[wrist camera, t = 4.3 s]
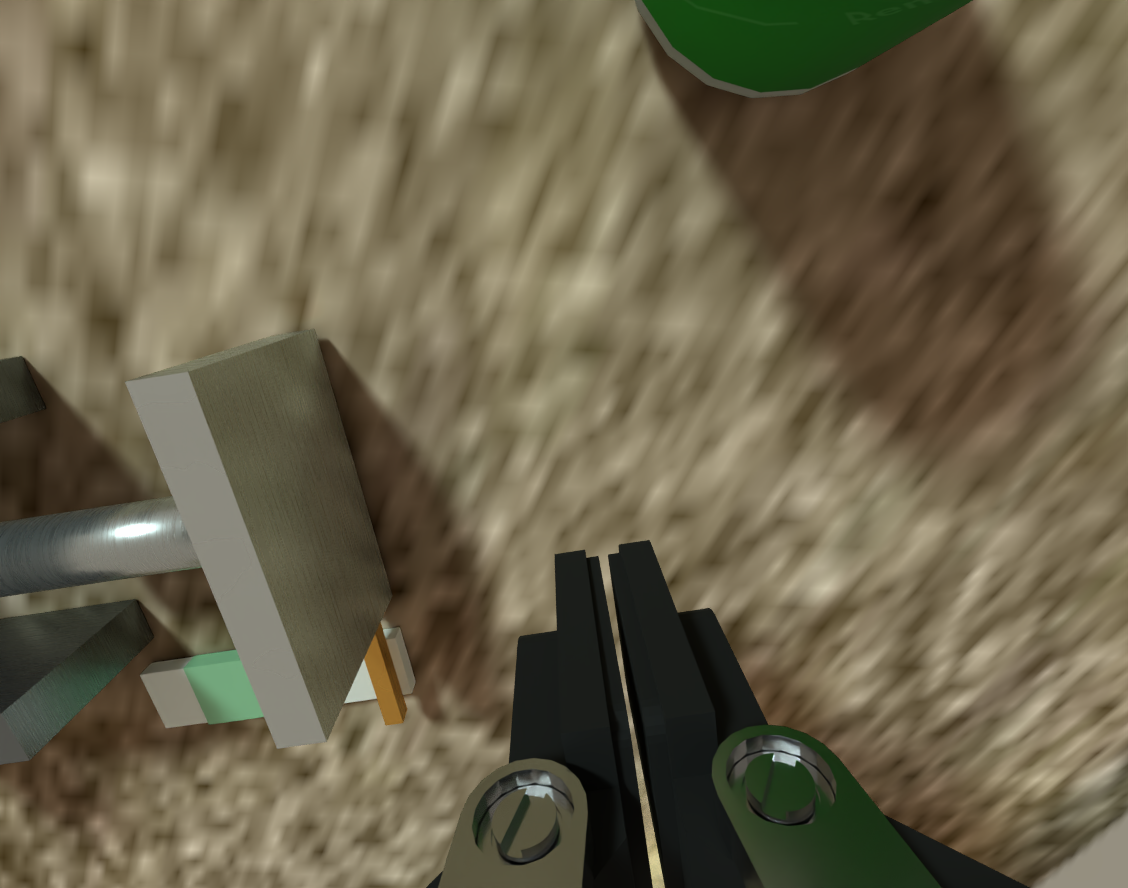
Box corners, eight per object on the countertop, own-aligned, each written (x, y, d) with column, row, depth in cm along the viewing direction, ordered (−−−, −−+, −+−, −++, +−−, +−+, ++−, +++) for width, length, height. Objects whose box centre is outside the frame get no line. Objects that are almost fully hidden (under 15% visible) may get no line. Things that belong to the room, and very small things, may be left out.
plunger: (314, 328, 16) (187, 372, 10) (420, 691, 20) (371, 861, 15) (3, 377, 16) (-286, 445, 11) (173, 725, 21) (30, 907, 15)
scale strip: (399, 625, 20) (394, 638, 19) (416, 682, 21) (412, 696, 20) (150, 661, 20) (137, 674, 19) (176, 716, 21) (165, 730, 20)
